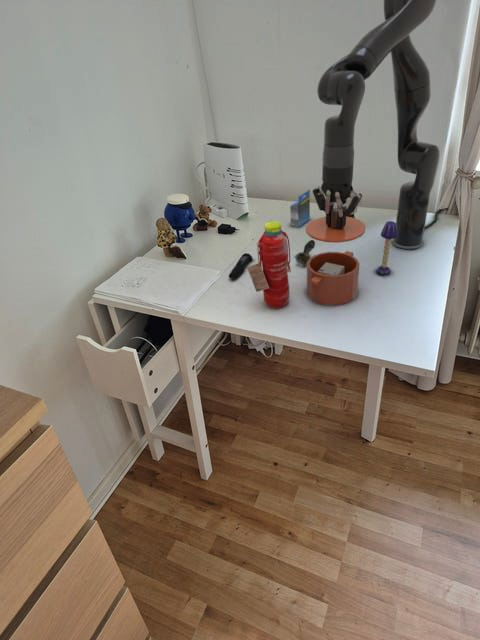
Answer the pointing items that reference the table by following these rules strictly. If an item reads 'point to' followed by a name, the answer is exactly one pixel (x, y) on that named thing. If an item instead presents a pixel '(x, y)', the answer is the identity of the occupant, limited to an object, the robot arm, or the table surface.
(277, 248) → the water bottle
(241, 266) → the electric trimmer
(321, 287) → the pot
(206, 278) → the table surface
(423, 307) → the table surface
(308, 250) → the eagle figurine
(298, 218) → the tape cartridge
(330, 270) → the white cardboard box
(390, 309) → the table surface
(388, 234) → the purple tan pedestal column
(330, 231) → the pot lid
